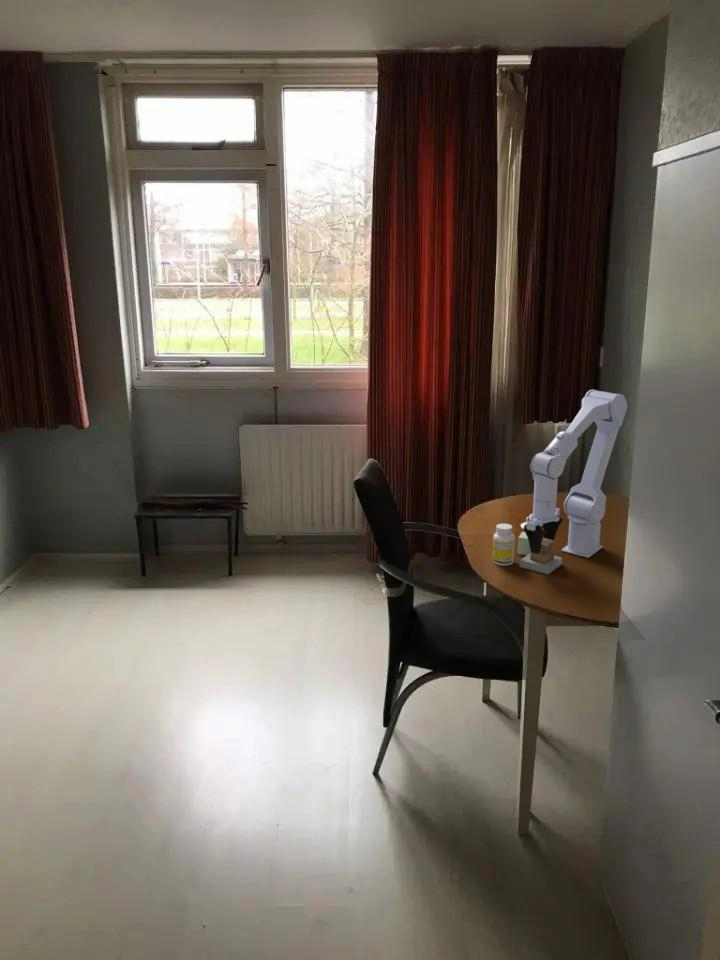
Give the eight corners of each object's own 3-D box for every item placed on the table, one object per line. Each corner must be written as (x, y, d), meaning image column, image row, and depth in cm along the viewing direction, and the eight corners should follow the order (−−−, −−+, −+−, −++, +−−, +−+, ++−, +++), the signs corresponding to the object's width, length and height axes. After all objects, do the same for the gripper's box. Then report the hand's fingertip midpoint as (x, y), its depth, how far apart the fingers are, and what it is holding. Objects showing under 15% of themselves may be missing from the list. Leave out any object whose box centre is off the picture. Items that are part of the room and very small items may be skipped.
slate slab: (533, 559, 208) (534, 550, 208) (561, 566, 204) (562, 557, 203) (519, 568, 203) (520, 559, 202) (547, 576, 198) (548, 567, 197)
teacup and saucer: (548, 523, 234) (549, 510, 233) (552, 533, 226) (553, 520, 225) (519, 523, 235) (519, 510, 233) (522, 532, 227) (522, 519, 226)
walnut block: (537, 554, 205) (538, 536, 204) (553, 558, 203) (554, 540, 201) (530, 559, 202) (531, 541, 200) (546, 563, 199) (547, 545, 198)
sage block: (521, 548, 214) (522, 531, 213) (537, 550, 213) (538, 533, 211) (517, 554, 211) (518, 537, 209) (534, 556, 209) (535, 539, 207)
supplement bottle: (498, 556, 209) (500, 520, 206) (517, 561, 206) (519, 525, 203) (488, 562, 205) (489, 526, 202) (507, 568, 202) (509, 531, 199)
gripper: (546, 509, 190) (543, 560, 194) (571, 494, 200) (568, 543, 204) (520, 504, 194) (518, 553, 198) (546, 489, 205) (543, 537, 209)
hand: (541, 548), depth 201 cm, fingers open, 7 cm apart
